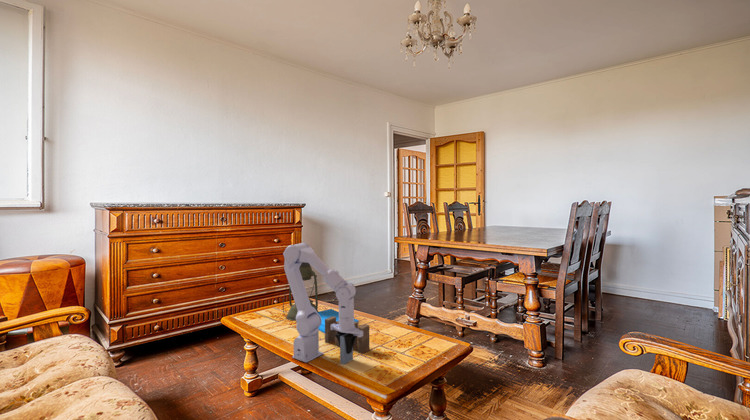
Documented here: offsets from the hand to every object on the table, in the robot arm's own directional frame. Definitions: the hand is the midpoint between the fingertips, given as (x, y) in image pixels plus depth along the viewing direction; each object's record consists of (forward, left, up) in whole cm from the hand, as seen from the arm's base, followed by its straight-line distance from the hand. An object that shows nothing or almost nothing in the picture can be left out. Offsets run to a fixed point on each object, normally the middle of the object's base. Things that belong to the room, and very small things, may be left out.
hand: (346, 352), depth 133 cm
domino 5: (+11, 0, -3) cm, 12 cm away
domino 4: (+11, +6, -3) cm, 13 cm away
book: (+26, +32, -4) cm, 42 cm away
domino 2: (+11, +12, -3) cm, 17 cm away
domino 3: (0, 0, -3) cm, 3 cm away
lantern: (+28, +54, -4) cm, 61 cm away
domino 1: (+11, +18, -3) cm, 22 cm away
